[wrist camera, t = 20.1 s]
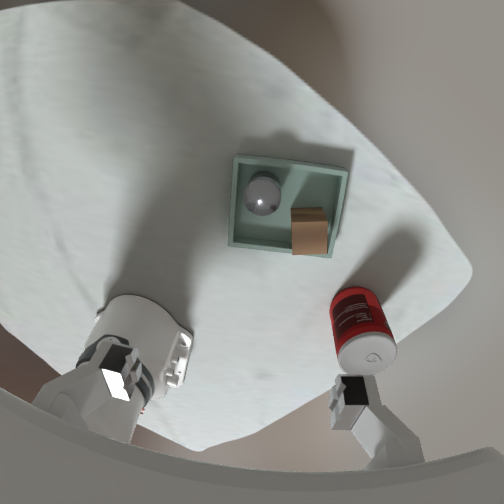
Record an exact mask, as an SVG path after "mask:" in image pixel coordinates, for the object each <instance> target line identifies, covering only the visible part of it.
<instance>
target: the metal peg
mask: <svg viewBox="0 0 504 504" xmlns="http://www.w3.org/2000/svg"><path fill="white" fill-rule="evenodd" d="M243 199H244V204H245V206H246V208H247V209H248V210H249V211H250V212H251V213H253V214H255V215H258V216H267V215H270V214H272V213H274V212H275V211H276V210H277V209H278V207H279V205H280V202H281V183H280V180H279V179H278V177H277V176H276V175H275V174H273V173H271V172H268V171H260V172H257V173H256V174H254V175H253V176H252V177H251V178H250V180H249V183H248V185H247V187H246V189H245V192H244V196H243Z"/></svg>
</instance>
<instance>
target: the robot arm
mask: <svg viewBox="0 0 504 504" xmlns="http://www.w3.org/2000/svg"><path fill="white" fill-rule="evenodd" d="M94 321H95V324H96V325H95V327H94V328H93V330H92V332H91V334H90V336H89V338H88V340H87V341H86V343H85V351H84V352H83V353H82V354H81V356H80V357H79V360H78V362H77V364H76V369H74V370H72V371H70V372H68V373H66V374H64V375H62V376H60V377H58V378H56V379H54V380H52V381H50V382H48V383H46V384H44V385H43V387H42V389H41V390H40V392H39V393H38V395H37V396H36V398H35V399H34V401H33V403H32V404H29V403H27V402H25V401H23V400H22V399H20V398H18V397H16V396H14V395H13V394H11V393H9V392H7V391H5V390H4V389H2V388H0V504H504V455H502V454H501V453H500V452H499V451H497V450H496V449H494V448H493V447H486V448H481V449H478V450H474V451H471V452H468V453H464V454H460V455H456V456H451V457H447V458H443V459H438V460H433V461H428V462H425V460H424V456H423V452H422V448H421V444H420V440H419V438H418V437H417V436H416V435H415V434H414V433H413V432H412V431H411V430H410V429H408V427H407V426H406V425H405V424H404V423H403V422H402V421H401V420H400V419H399V418H398V417H396V416H395V415H394V414H393V413H392V412H391V411H390V410H389V409H388V408H387V407H386V406H385V405H382V404H381V400H380V396H379V392H378V388H377V384H376V380H375V377H374V375H349V374H338V376H337V377H336V379H335V383H336V385H334V386H333V387H332V389H331V391H330V396H329V408H330V409H331V410H332V411H333V412H332V414H331V416H330V420H331V429H333V430H351V432H352V433H353V435H354V436H355V437H356V439H357V440H358V442H359V443H360V444H361V446H362V447H363V448H364V450H365V451H366V452H367V454H368V455H369V456H370V458H371V459H372V460H371V461H370V462H369V463H368V464H367V465H366V467H364V468H363V470H359V471H341V472H340V471H339V472H293V471H274V470H261V469H250V468H242V467H234V466H226V465H220V464H213V463H207V462H201V461H196V460H191V459H186V458H181V457H177V456H172V455H168V454H164V453H160V452H156V451H152V450H148V449H145V448H141V447H138V446H134V445H131V444H130V442H131V438H132V435H133V432H134V429H135V426H136V423H137V420H138V418H139V415H140V414H143V413H142V412H141V410H145V409H144V407H145V406H146V405H147V403H149V402H150V400H151V399H160V398H163V397H165V396H166V394H167V392H168V389H169V388H177V387H181V386H182V384H183V382H184V378H185V373H186V368H187V364H188V359H189V355H190V350H191V346H192V341H193V336H192V335H191V334H190V333H189V332H188V331H187V330H185V329H184V328H182V327H180V326H179V325H178V324H177V323H176V322H175V321H174V319H173V318H172V317H171V316H170V315H169V314H168V313H167V312H166V311H165V310H164V309H163V308H162V307H160V306H159V305H157V304H156V303H154V302H152V301H150V300H148V299H146V298H143V297H140V296H135V295H122V296H118V297H116V298H114V299H113V300H111V301H110V302H109V304H108V305H107V307H106V309H105V310H104V311H102V312H100V313H98V314H97V315H96V317H95V319H94Z"/></svg>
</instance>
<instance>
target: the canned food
mask: <svg viewBox="0 0 504 504" xmlns="http://www.w3.org/2000/svg"><path fill="white" fill-rule="evenodd" d="M330 319H331V324H332V330H333V336H334V342H335V348H336V354H337V359H338V363H339V366H340V368H341V369H342V370H343V371H344V372H345V373H347V374H349V375H375V374H378V373H380V372H382V371H383V370H385V369H386V368H388V367H389V366H390V365H391V364H392V362H393V361H394V359H395V357H396V354H397V347H396V343H395V340H394V337H393V335H392V332H391V330H390V327H389V325H388V322H387V320H386V317H385V315H384V312H383V310H382V308H381V305H380V303H379V301H378V298H377V297H376V296H375V295H374V294H373V293H372V292H371V291H370V290H368V289H366V288H363V287H350V288H347V289H344V290H342V291H341V292H339V293H338V294H337V295H336V296H335V297H334V299H333V300H332V302H331V306H330Z"/></svg>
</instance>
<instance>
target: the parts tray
mask: <svg viewBox="0 0 504 504" xmlns="http://www.w3.org/2000/svg"><path fill="white" fill-rule="evenodd" d="M260 171H268V172H271V173H273V174H275V175H276V176H277V177H278V179H279V180H280V183H281V202H280V205H279V207H278V209H277V210H276V211H275V212H274V213H272V214H270V215H267V216H258V215H255V214H253V213H251V212H250V211H249V210H248V209H247V208H246V206H245V204H244V199H243V196H244V192H245V189H246V187H247V185H248V183H249V180H250V178H251V177H252V176H253V175H254V174H256V173H257V172H260ZM347 177H348V171H347V170H346V169H345V168H342V167H336V166H330V165H323V164H316V163H309V162H302V161H294V160H286V159H278V158H269V157H260V156H250V155H238V154H236V155H235V156H234V158H233V171H232V186H231V201H230V216H229V233H228V246H231V247H239V248H248V249H256V250H265V251H273V252H282V253H291V254H292V240H291V211H290V208H306V207H322V208H323V210H324V213H325V215H326V218H327V221H328V237H327V254H310V255H307V256H316V257H324V258H332V253H333V249H334V244H335V239H336V235H337V230H338V225H339V220H340V215H341V210H342V205H343V199H344V194H345V188H346V183H347Z"/></svg>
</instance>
